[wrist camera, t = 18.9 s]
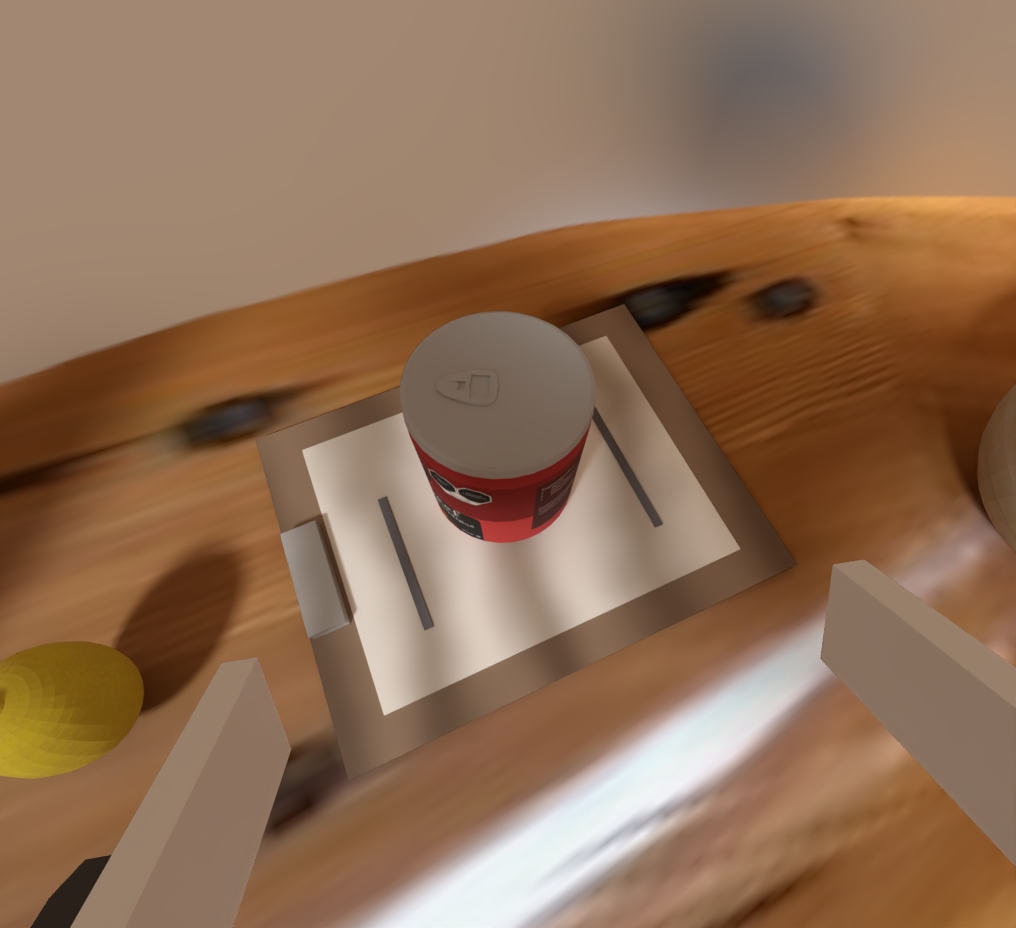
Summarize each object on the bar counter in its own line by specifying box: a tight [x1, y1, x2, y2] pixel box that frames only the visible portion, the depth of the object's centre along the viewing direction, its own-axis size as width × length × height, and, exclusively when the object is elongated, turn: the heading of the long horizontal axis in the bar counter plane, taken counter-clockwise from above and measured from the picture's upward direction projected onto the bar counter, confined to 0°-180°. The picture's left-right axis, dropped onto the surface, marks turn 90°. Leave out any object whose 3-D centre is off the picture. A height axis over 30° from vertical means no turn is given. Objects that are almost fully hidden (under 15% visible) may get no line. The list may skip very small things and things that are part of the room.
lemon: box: [0, 641, 144, 778], centre depth 24 cm, size 6×6×8 cm
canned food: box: [400, 311, 596, 543], centre depth 26 cm, size 8×8×11 cm
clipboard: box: [256, 304, 797, 780], centre depth 31 cm, size 26×20×2 cm
